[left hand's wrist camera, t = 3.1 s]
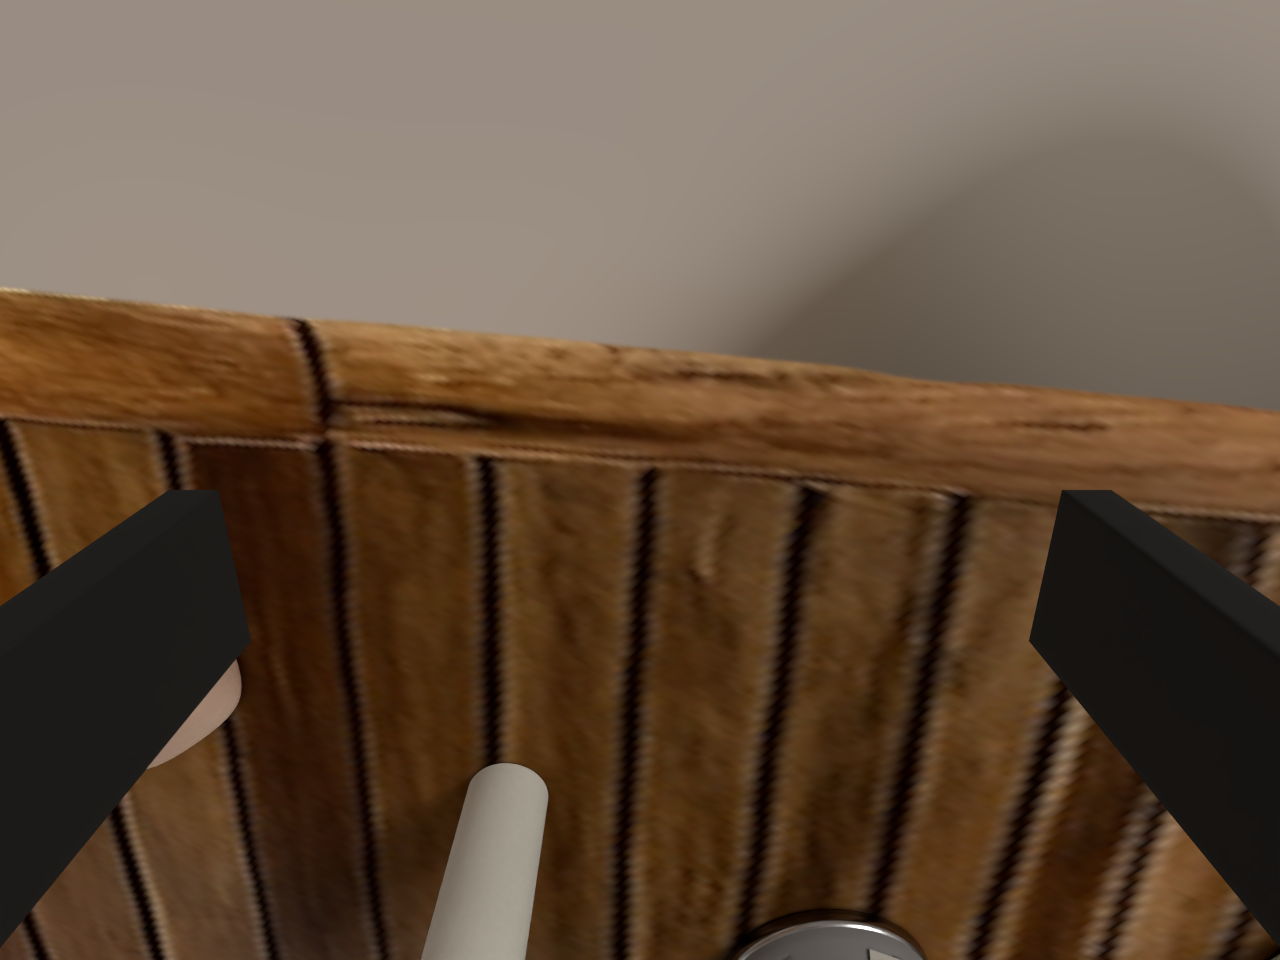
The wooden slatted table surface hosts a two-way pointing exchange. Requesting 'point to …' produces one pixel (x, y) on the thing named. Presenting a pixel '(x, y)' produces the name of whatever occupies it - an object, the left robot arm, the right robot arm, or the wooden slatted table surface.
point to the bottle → (491, 869)
